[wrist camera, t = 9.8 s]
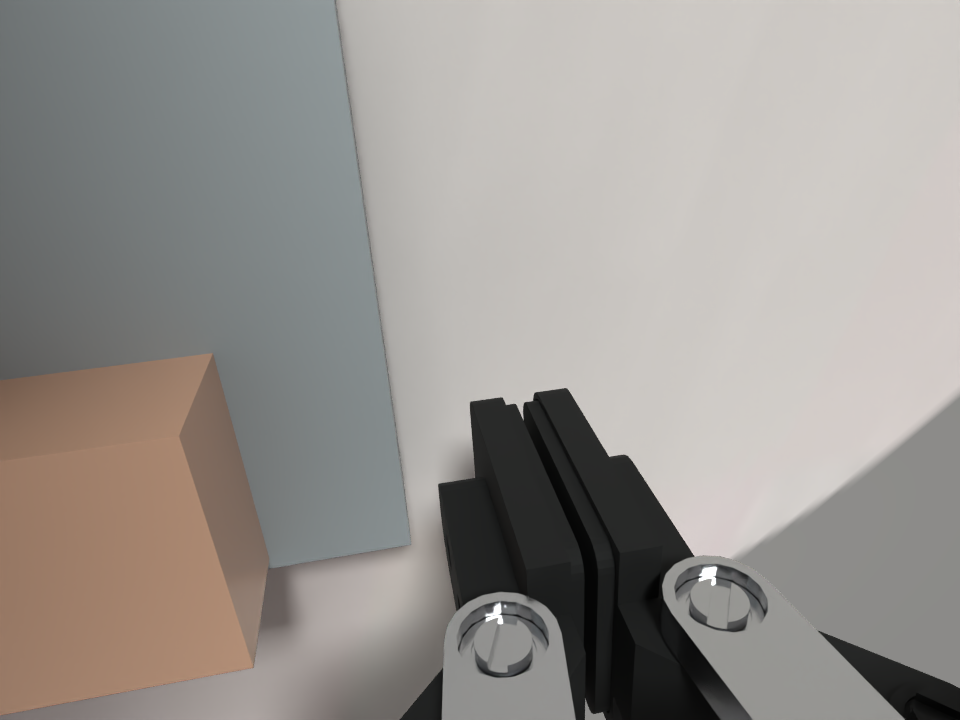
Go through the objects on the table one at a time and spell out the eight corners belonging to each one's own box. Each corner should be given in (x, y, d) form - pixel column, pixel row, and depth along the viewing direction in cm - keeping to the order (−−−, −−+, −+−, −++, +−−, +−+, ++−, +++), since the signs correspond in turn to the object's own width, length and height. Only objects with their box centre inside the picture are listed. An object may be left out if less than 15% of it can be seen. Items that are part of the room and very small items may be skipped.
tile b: (-87, 390, 10) (-204, 490, 8) (213, 353, 11) (178, 435, 9) (22, 600, 12) (-48, 724, 10) (269, 558, 13) (253, 667, 11)
